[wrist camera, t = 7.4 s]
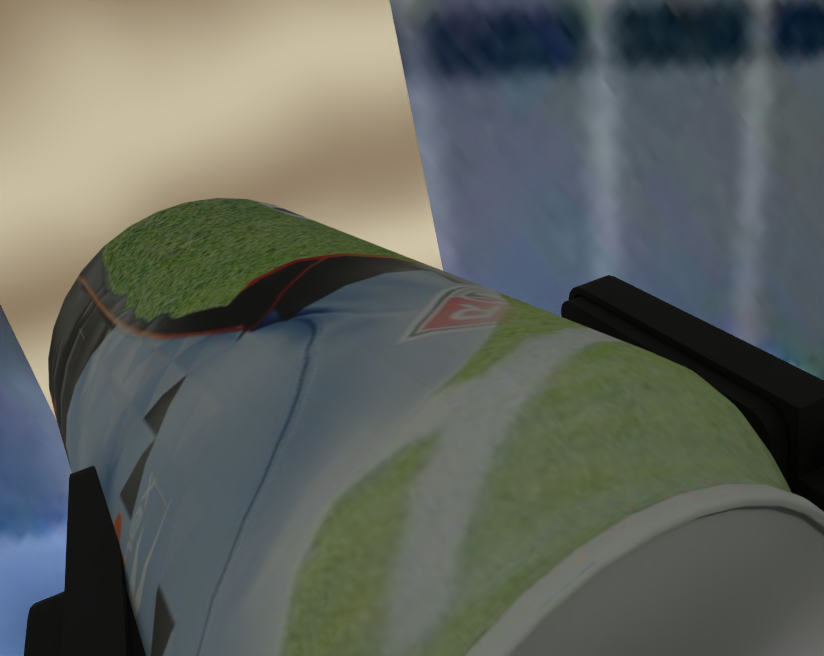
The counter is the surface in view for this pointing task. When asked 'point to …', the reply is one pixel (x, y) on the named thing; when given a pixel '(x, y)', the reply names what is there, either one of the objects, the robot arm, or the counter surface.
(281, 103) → the oak block
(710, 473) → the beverage can
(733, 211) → the counter surface
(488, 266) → the counter surface
